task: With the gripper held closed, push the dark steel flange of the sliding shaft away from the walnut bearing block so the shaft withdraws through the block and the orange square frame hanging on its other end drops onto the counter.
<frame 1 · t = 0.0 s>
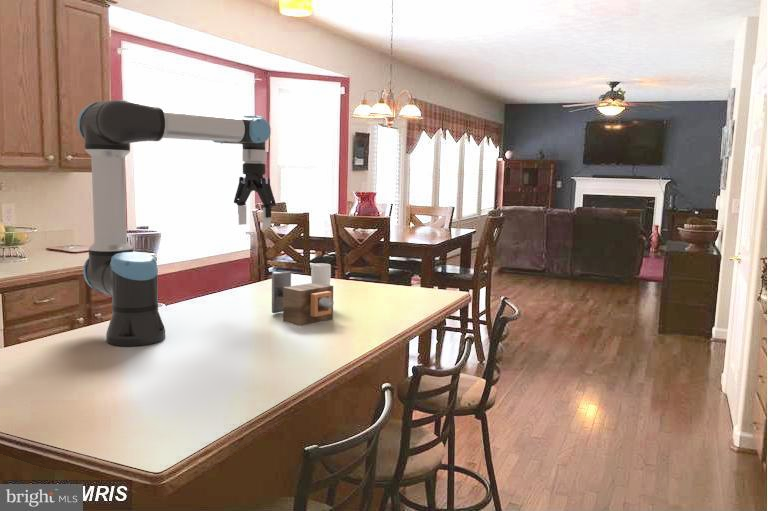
hand: (254, 226, 217), 28 cm above the kitchen island, fingers open, 13 cm apart
orange square frame: (321, 303, 198), point 6 cm above the kitchen island, touching shaft
drinking glass: (320, 307, 223), on the kitchen island
bearing block: (308, 320, 203), on the kitchen island
shaft: (304, 297, 203), point 7 cm above the kitchen island, slide at 0.0 cm, touching orange square frame
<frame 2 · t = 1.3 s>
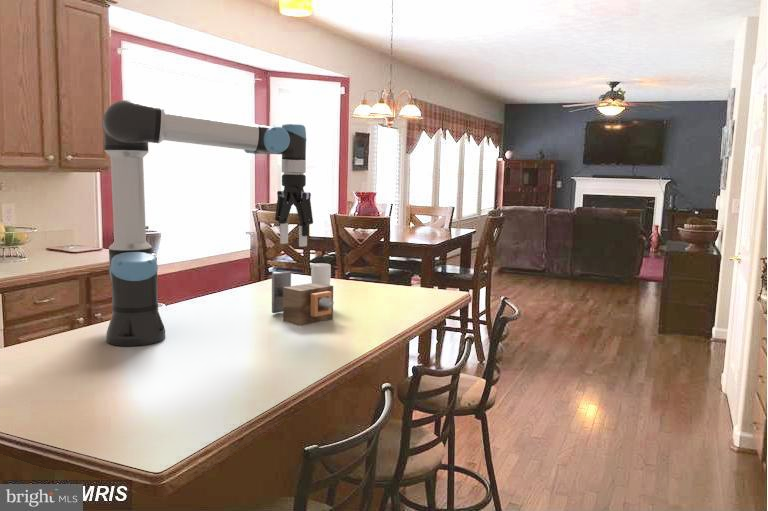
hand: (293, 244, 205), 23 cm above the kitchen island, fingers open, 9 cm apart
nothing on the kitchen island moved.
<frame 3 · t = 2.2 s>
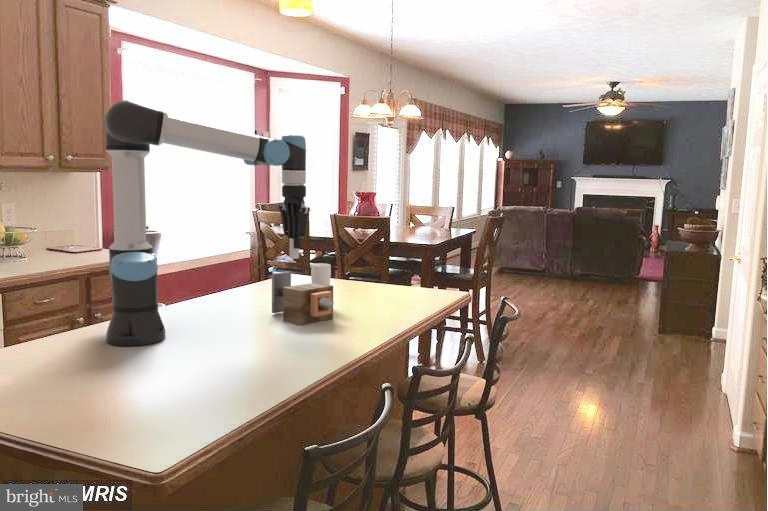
hand: (294, 258, 206), 19 cm above the kitchen island, fingers closed
nothing on the kitchen island moved.
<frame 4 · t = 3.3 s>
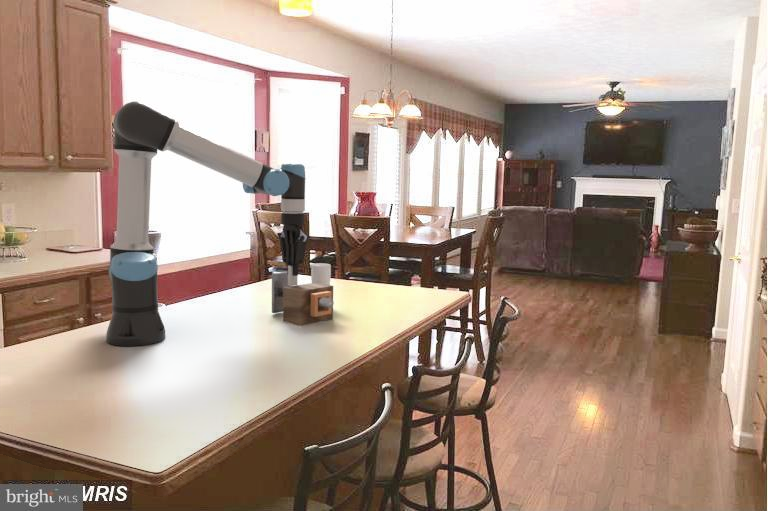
hand: (292, 285, 207), 10 cm above the kitchen island, fingers closed
nothing on the kitchen island moved.
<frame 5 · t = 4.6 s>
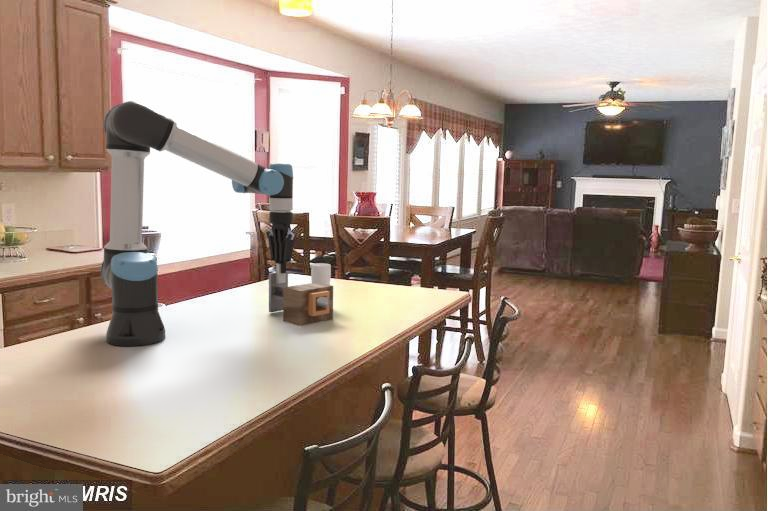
hand: (280, 282, 211), 10 cm above the kitchen island, fingers closed
orange square frame: (319, 303, 199), point 6 cm above the kitchen island, touching bearing block, shaft
shaft: (300, 296, 205), point 7 cm above the kitchen island, slide at 1.6 cm, touching gripper, orange square frame
everything else where it was.
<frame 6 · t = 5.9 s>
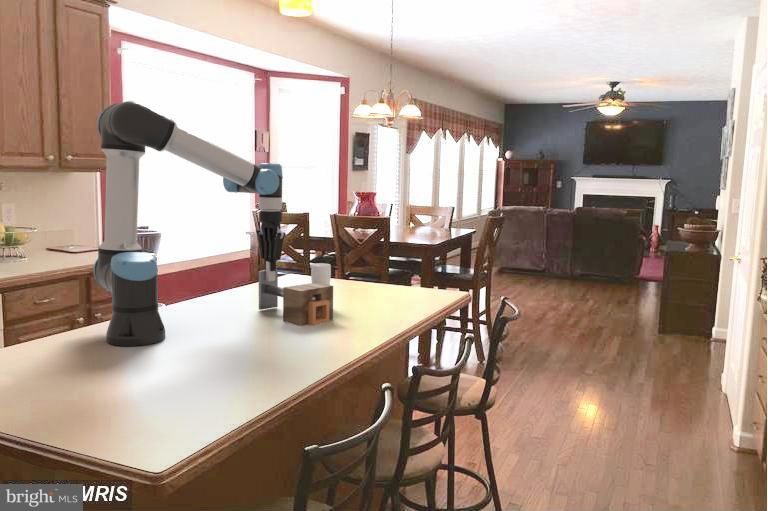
hand: (270, 280, 215), 10 cm above the kitchen island, fingers closed
orange square frame: (319, 312, 199), point 3 cm above the kitchen island
shaft: (289, 294, 208), point 7 cm above the kitchen island, slide at 7.1 cm, touching gripper
everything else where it was.
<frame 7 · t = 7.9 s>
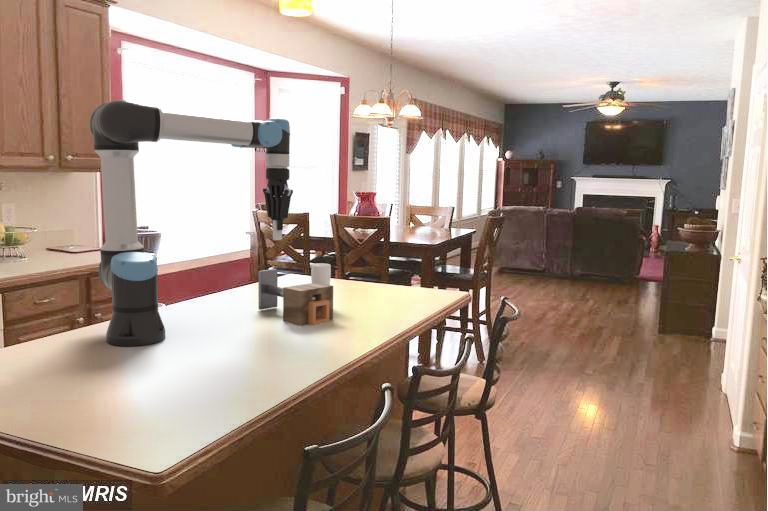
hand: (277, 239, 210), 24 cm above the kitchen island, fingers closed
shaft: (289, 294, 208), point 7 cm above the kitchen island, slide at 7.2 cm
everything else where it was.
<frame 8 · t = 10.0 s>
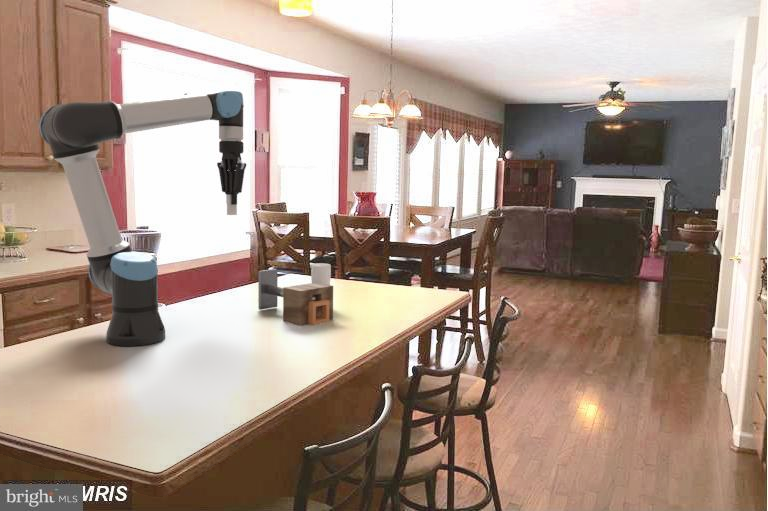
hand: (231, 214, 206), 32 cm above the kitchen island, fingers closed
nothing on the kitchen island moved.
at the end: shaft slide at 7.2 cm; orange square frame point 3.4 cm above the kitchen island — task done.
